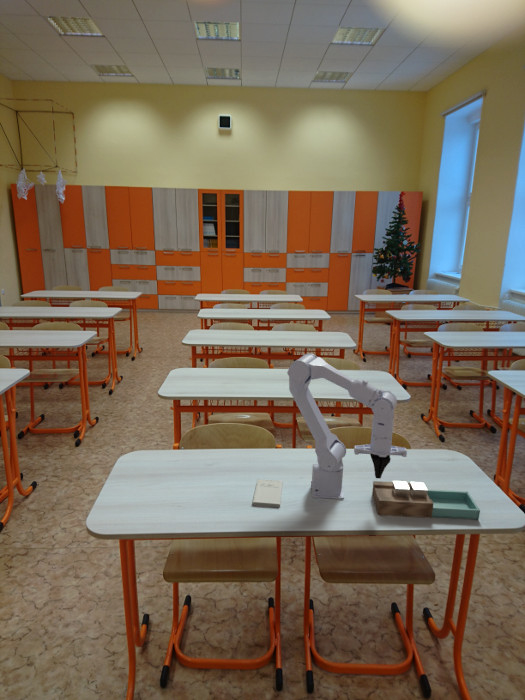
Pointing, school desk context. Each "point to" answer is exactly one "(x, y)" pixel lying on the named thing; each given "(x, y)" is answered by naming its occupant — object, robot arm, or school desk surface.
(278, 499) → the external hard drive
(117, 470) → the school desk surface
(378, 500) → the channel block
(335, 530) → the school desk surface
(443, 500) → the tray
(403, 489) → the grey square block
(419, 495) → the light grey block
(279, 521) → the school desk surface
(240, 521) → the school desk surface
